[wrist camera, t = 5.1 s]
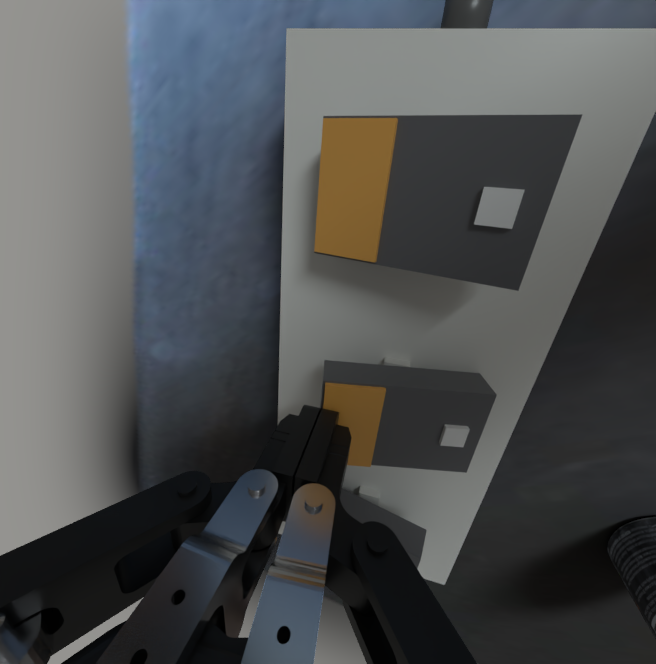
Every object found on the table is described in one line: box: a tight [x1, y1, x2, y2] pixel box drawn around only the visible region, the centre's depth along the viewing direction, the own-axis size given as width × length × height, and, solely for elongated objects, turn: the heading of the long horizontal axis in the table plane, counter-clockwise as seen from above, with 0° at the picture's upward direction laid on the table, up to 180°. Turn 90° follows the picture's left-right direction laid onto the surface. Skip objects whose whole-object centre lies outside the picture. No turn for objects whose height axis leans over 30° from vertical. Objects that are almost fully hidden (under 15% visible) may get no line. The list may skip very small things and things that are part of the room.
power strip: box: [278, 0, 656, 585], centre depth 17 cm, size 12×30×4 cm, turn 175°
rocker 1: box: [314, 114, 583, 291], centre depth 10 cm, size 7×4×2 cm, turn 85°
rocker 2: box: [320, 360, 497, 473], centre depth 14 cm, size 7×4×2 cm, turn 85°
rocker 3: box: [340, 488, 427, 568], centre depth 18 cm, size 7×4×2 cm, turn 85°
